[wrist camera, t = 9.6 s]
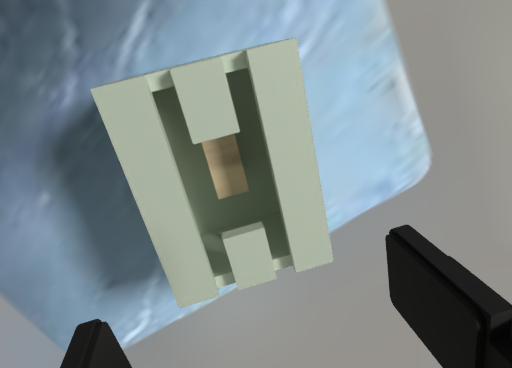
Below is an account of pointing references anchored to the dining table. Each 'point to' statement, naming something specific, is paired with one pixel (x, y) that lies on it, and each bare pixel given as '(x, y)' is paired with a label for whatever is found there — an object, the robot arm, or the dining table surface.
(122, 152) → the box
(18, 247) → the dining table surface
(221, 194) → the block
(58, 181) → the dining table surface
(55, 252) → the dining table surface
